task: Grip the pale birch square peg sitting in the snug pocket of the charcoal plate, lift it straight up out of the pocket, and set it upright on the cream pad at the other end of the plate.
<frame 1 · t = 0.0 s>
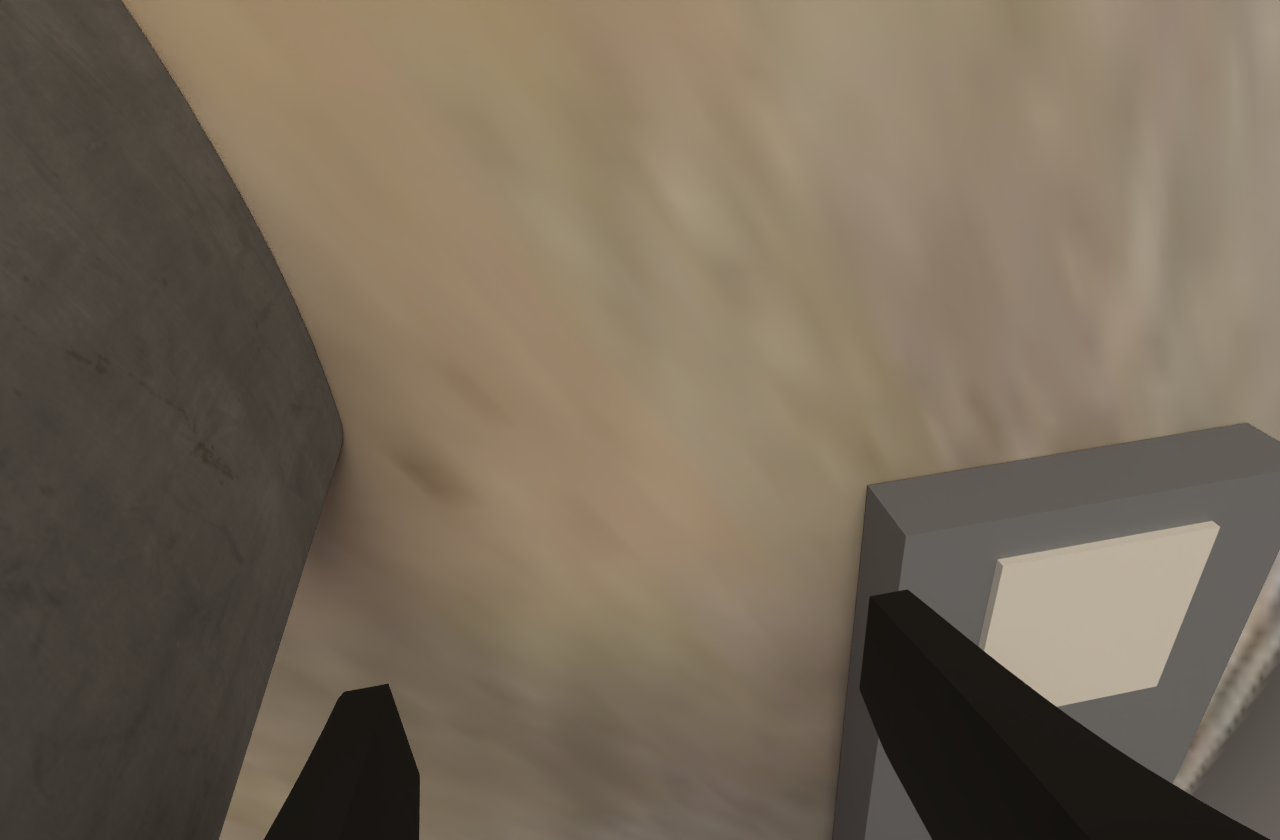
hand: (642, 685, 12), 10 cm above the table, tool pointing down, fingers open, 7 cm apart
hip flask: (136, 177, 16), on the table
pocket plate: (1003, 690, 30), on the table
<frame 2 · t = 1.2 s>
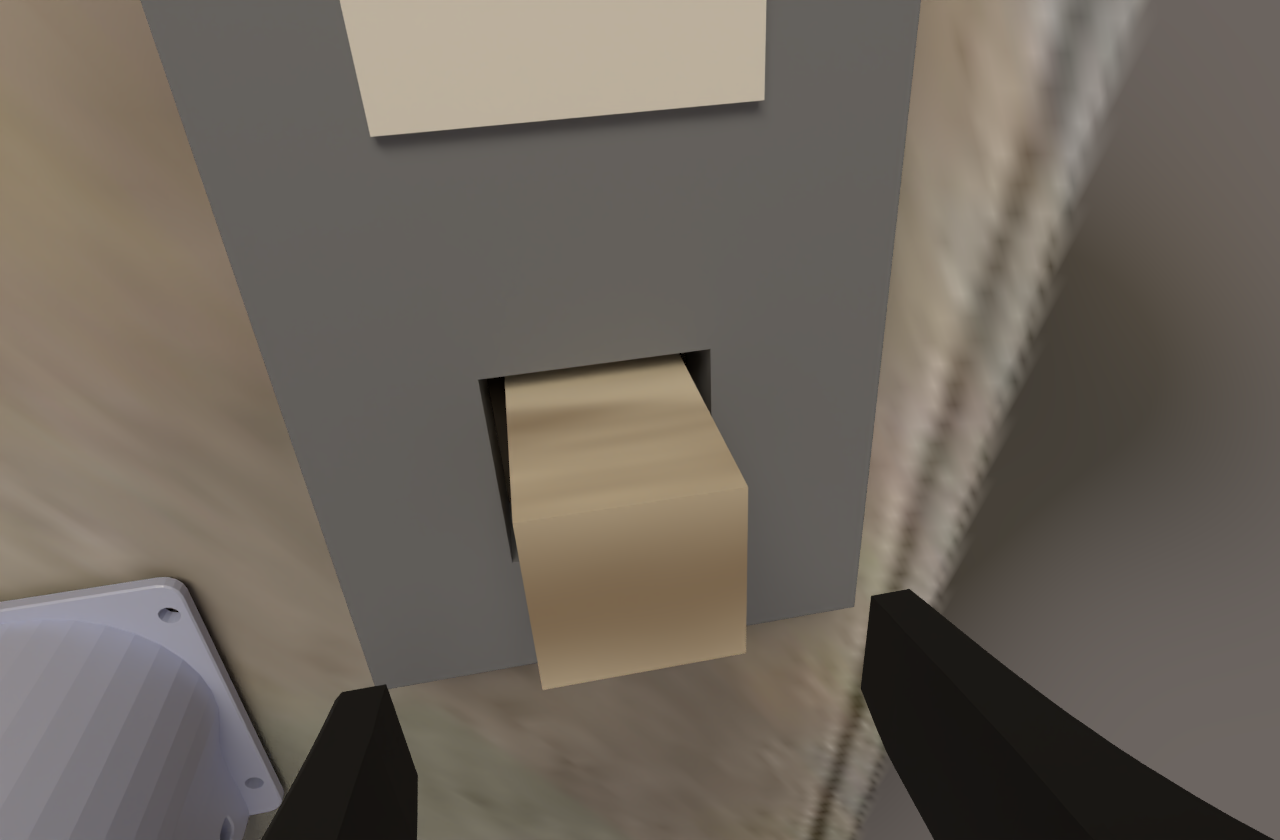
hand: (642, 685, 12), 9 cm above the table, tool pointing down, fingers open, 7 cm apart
peg: (592, 408, 20), resting in pocket plate
pocket plate: (572, 216, 17), on the table
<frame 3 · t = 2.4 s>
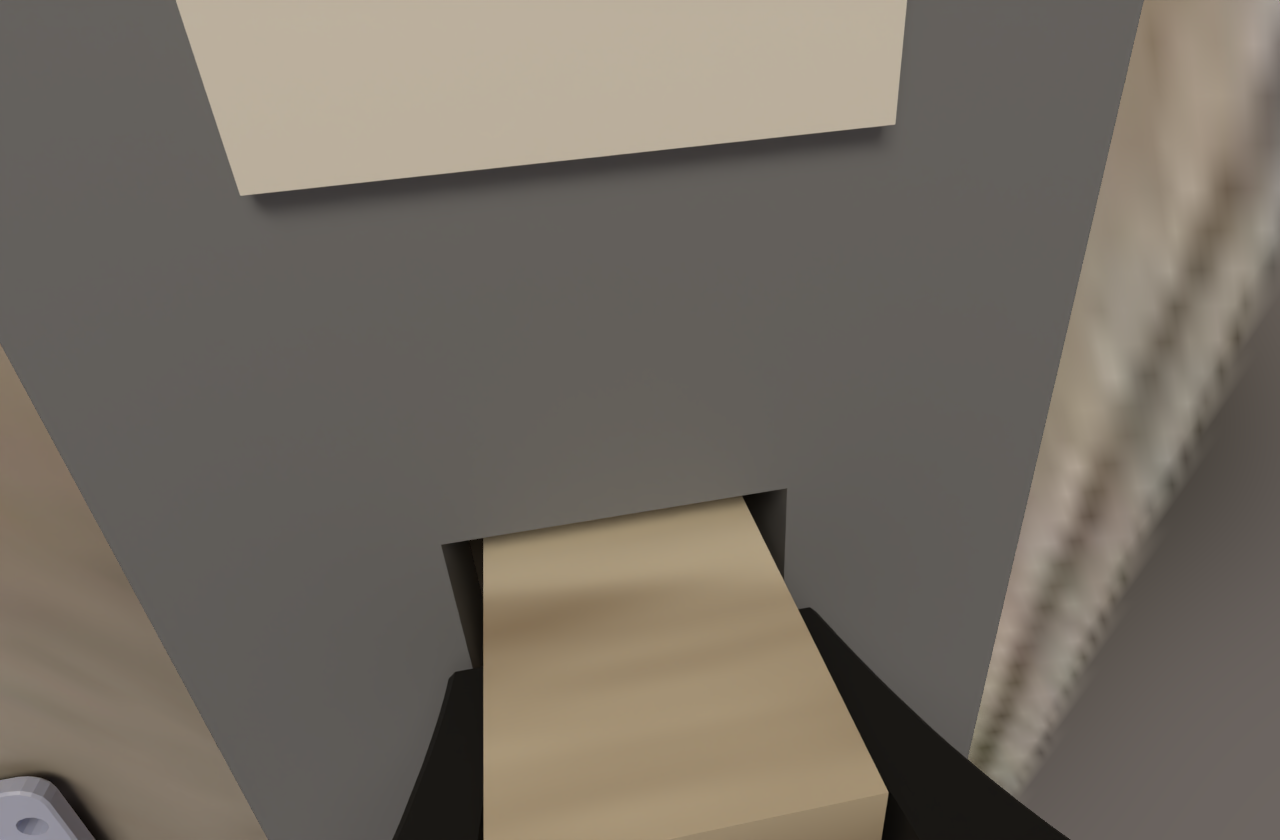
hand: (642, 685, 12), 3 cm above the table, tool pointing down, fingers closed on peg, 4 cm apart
peg: (609, 540, 14), resting in pocket plate, touching gripper
pocket plate: (580, 288, 12), on the table
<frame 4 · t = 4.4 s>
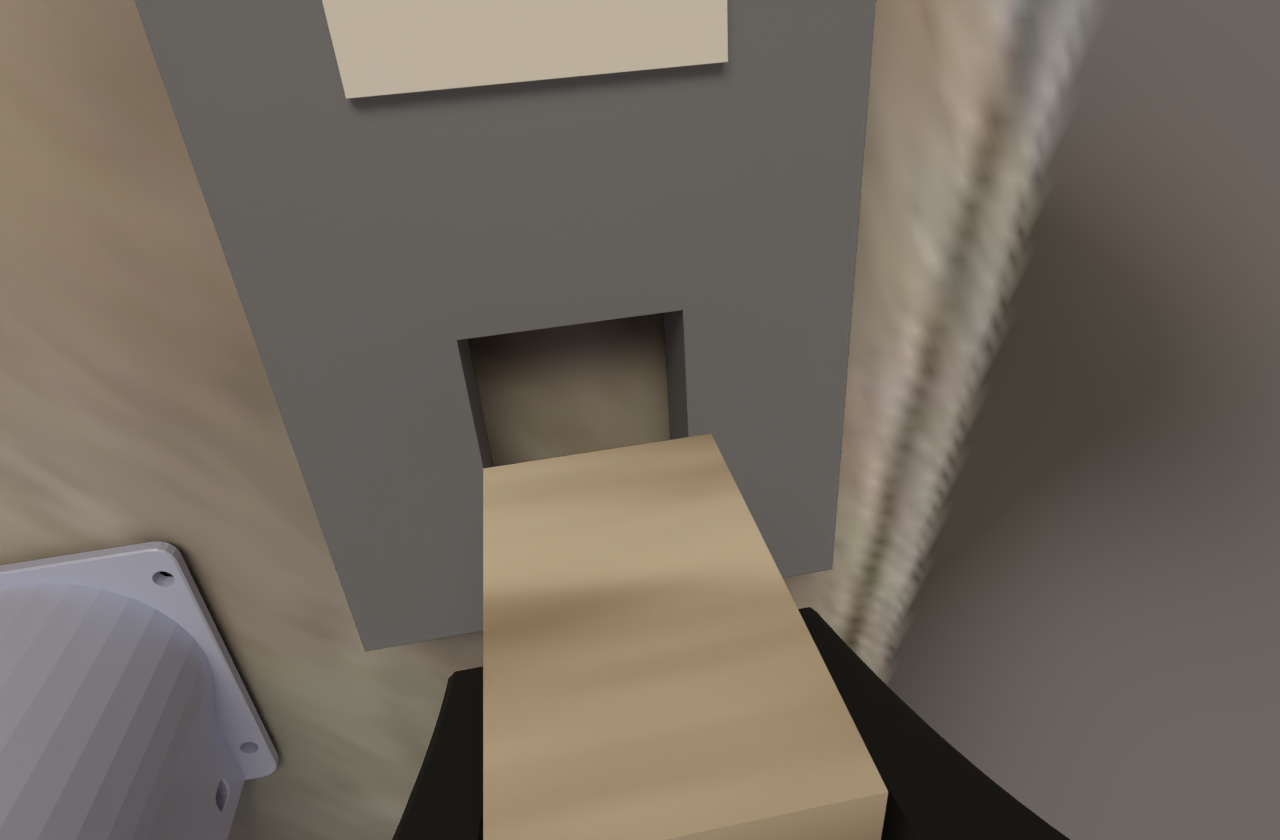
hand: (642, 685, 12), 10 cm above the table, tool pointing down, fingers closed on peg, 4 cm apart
peg: (609, 540, 14), point 7 cm above the table, touching gripper
pocket plate: (548, 182, 18), on the table
when the fingers open (7 cm above the table, at t = 6.3 s): peg drops 1 cm, resting on pocket plate.
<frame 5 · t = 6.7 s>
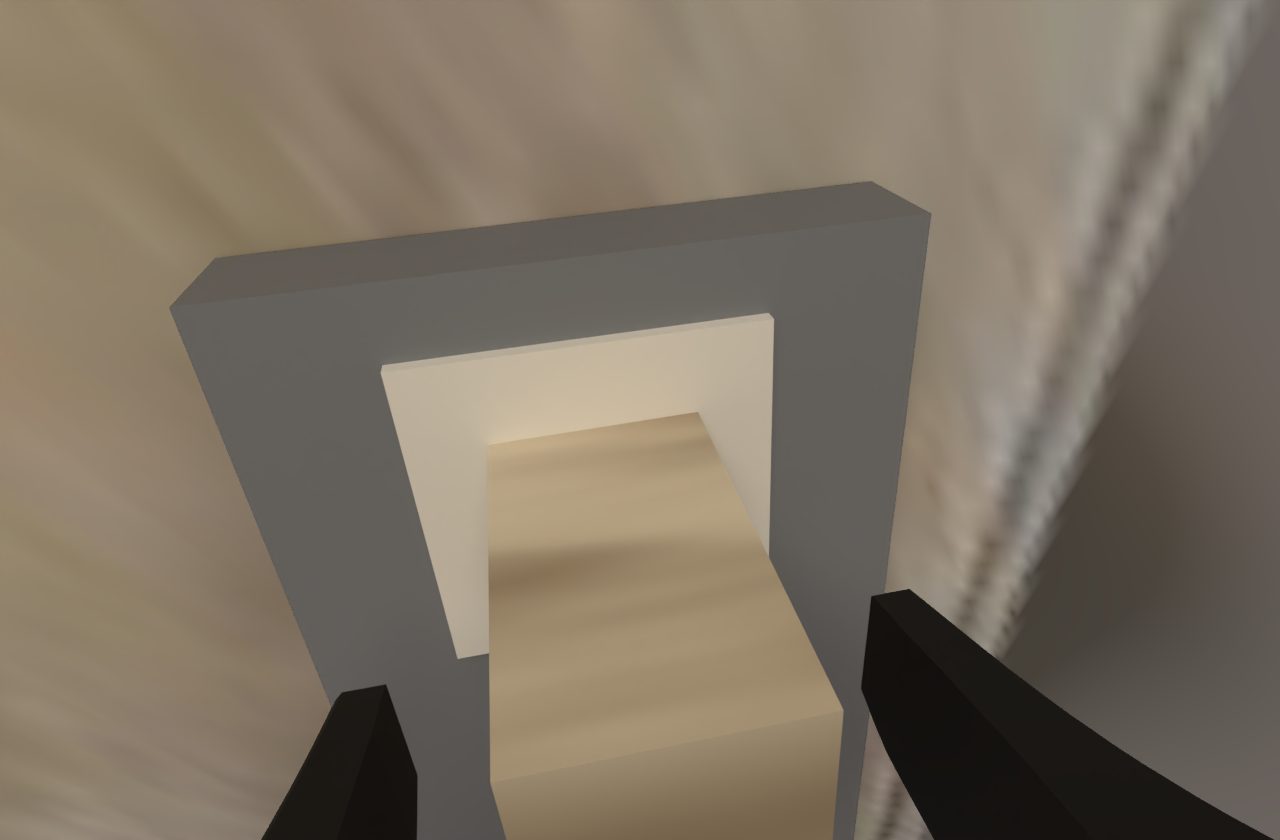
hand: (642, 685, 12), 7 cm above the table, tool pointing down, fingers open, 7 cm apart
peg: (604, 512, 16), point 3 cm above the table, touching pocket plate
pocket plate: (608, 621, 21), on the table
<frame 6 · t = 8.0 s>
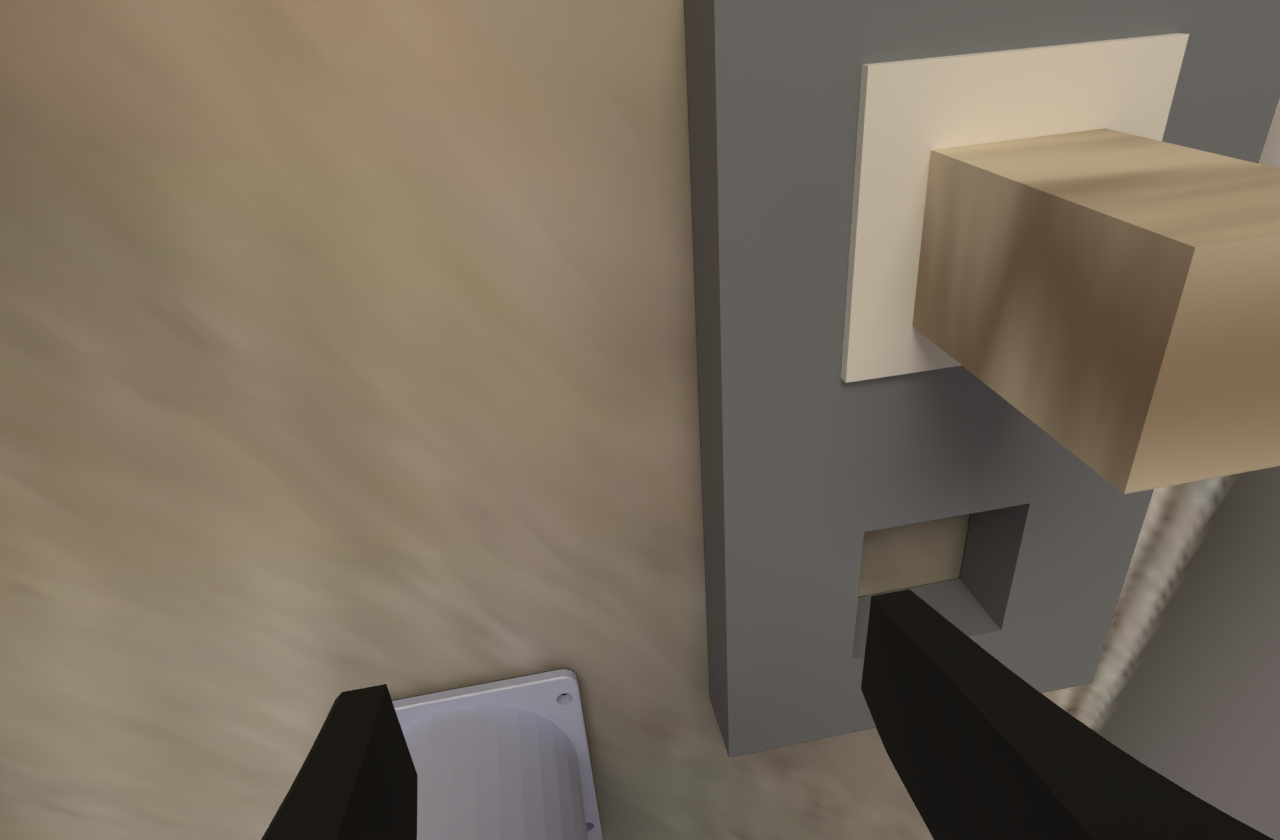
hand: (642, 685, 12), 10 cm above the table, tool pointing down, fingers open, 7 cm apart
peg: (1004, 231, 17), point 3 cm above the table, touching pocket plate
pocket plate: (915, 399, 23), on the table
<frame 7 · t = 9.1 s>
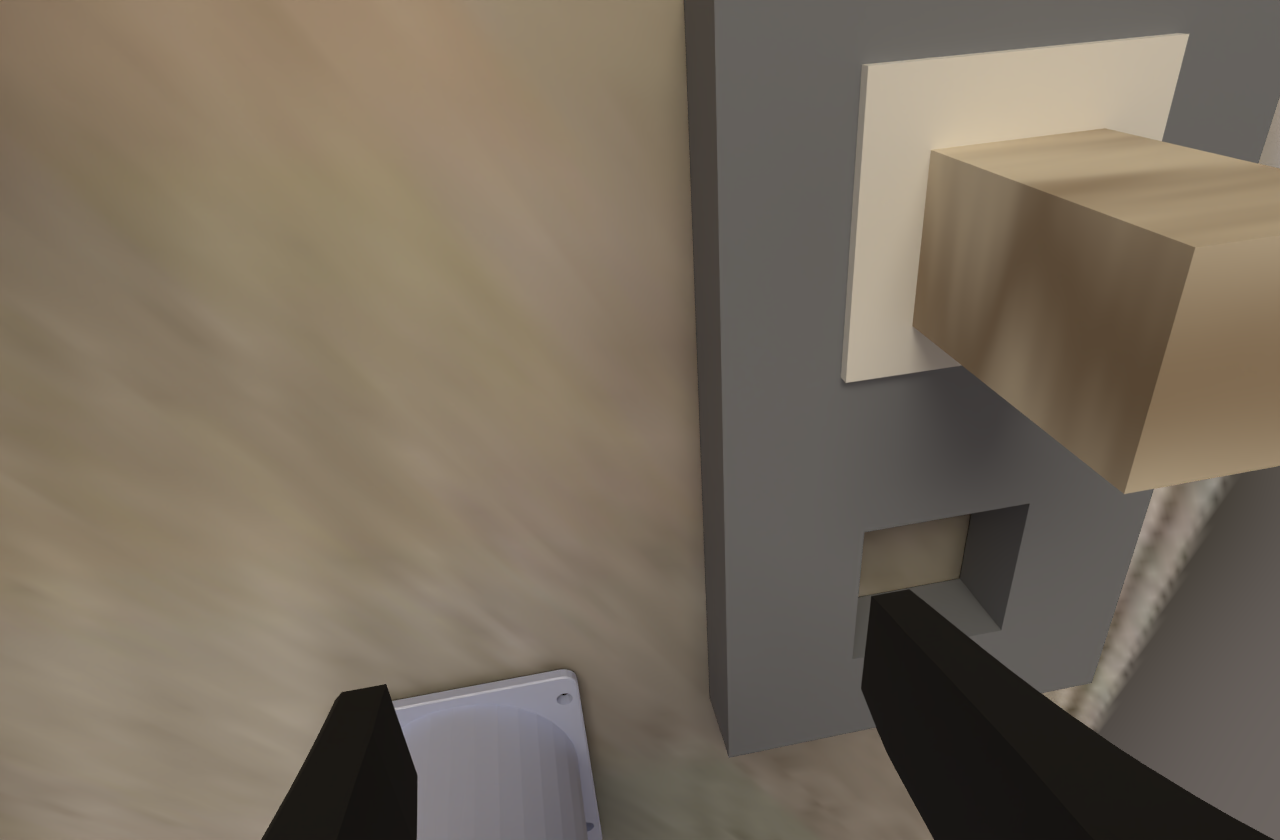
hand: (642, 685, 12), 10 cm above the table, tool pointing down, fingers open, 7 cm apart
peg: (1004, 231, 17), point 3 cm above the table, touching pocket plate
pocket plate: (915, 399, 23), on the table
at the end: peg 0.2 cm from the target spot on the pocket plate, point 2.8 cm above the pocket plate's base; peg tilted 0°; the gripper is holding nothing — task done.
